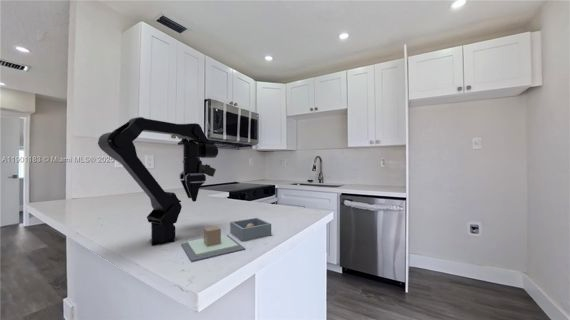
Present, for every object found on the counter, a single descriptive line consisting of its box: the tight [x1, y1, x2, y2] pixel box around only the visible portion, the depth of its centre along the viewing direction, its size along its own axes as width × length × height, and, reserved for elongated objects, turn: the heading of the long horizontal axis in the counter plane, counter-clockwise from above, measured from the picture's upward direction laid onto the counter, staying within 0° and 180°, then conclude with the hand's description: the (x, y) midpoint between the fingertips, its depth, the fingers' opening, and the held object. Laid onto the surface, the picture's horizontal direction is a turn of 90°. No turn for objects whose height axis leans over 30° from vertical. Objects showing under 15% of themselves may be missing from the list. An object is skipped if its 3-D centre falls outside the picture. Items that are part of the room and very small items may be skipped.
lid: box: [186, 225, 238, 257], centre depth 70 cm, size 12×12×5 cm
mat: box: [180, 234, 246, 263], centre depth 70 cm, size 15×15×1 cm
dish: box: [229, 217, 272, 242], centre depth 82 cm, size 11×11×4 cm
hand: (191, 199), depth 85 cm, fingers open, 9 cm apart
